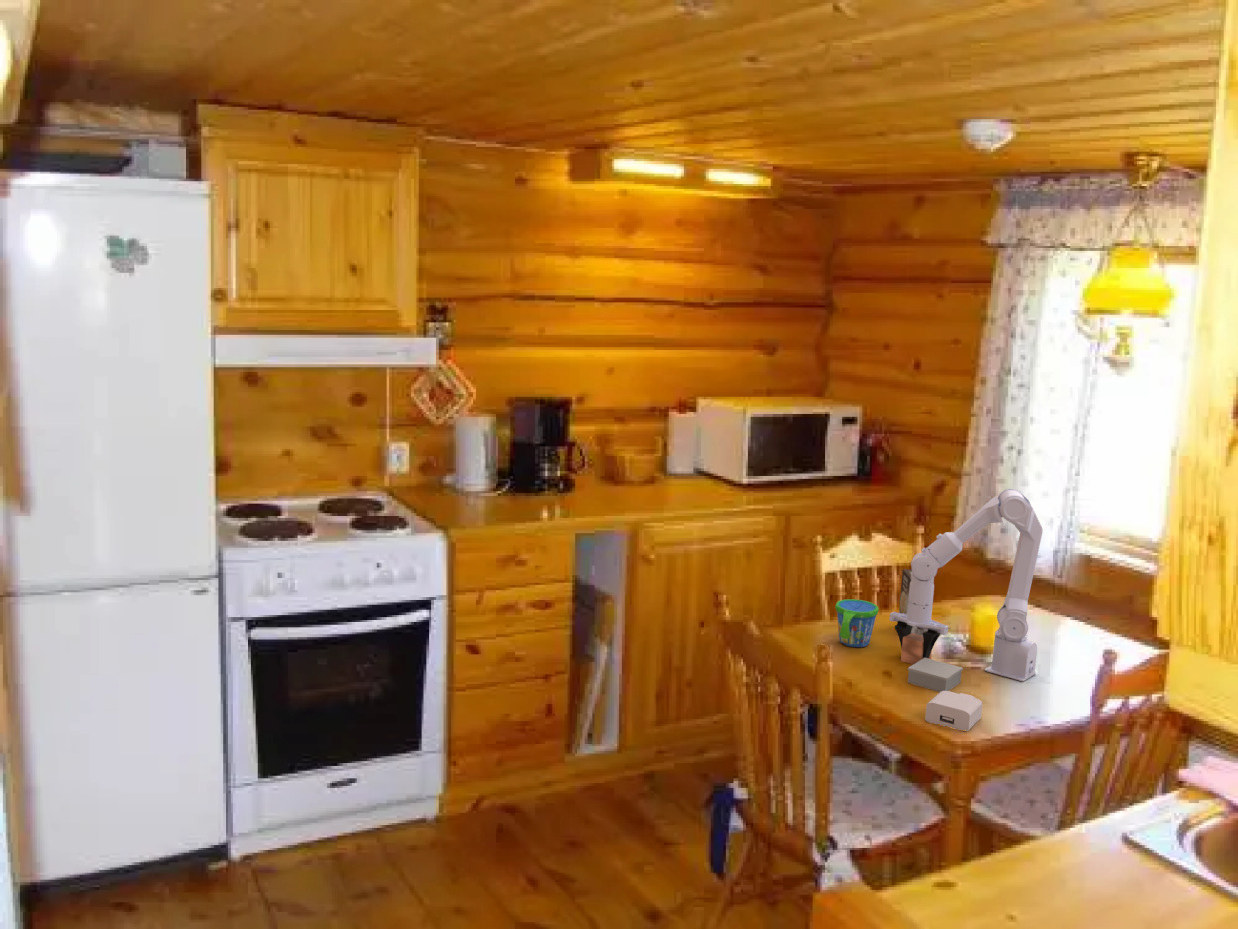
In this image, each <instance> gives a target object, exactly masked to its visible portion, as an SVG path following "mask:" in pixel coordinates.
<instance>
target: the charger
mask: <svg viewBox="0 0 1238 929" xmlns="http://www.w3.org/2000/svg"><path fill="white" fill-rule="evenodd" d="M925 705H926V708H925V716H924V719H925V721H926V722H927V723H930V724H933V723H934V724H935V725H937V724H940V725H939V726H941V725H943V726H942V727H945V726H948V727H952V728H955V729H954V730H956V729H958V730H957V731H959V730H966V731H967V732H969V731H970V730H971V728H972V727H974V725H976V723H978V721H979V720H980V719H981V718H982V712H983V701H982V700H980V699H979V698H978V697H977V698H976V697H975V696H974V695H970V694H966V693H963V692H961V693H957V692H953V691H951V690H949V691H941V692H939V693H938V694H936V695H935V696H934V697H933V698H932V699H931V700H929V701H928V702H927V703H926V704H925ZM934 724H933V725H934ZM948 727H947V728H948ZM952 728H951V729H952Z"/></svg>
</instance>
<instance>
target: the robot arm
mask: <svg viewBox="0 0 1238 929" xmlns="http://www.w3.org/2000/svg"><path fill="white" fill-rule="evenodd" d="M1002 518H1003V519H1004V520H1006V521H1007V522H1008V523H1010V524H1012V525H1013V526H1014V527H1015V528H1016V530H1018V532H1019V536H1018V543H1017V547H1016V551H1015V555H1014V560H1013V565H1012V569H1011V573H1010V574H1011V576H1010V581H1009V584H1008V588H1007V593H1006V596H1005V598H1004V602H1003V605H1001V608H999V610H998V612H997V615H996V619H997V622H998V624H999V628H998V629H997V630H996V631H995V632H994V640H993V641H994V642H993V651H992V658H991V659H992V660H991V664H990V665H989V666H988V667H986V668H985V669H984V671H985V672H988V673H992V674H995V675H999V676H1001V677H1005V678H1009V679H1013V680H1015V681H1020V682H1024V681H1026V680H1028V679H1029V678H1031V677H1032V676H1034V675H1036V674H1037V672H1036V665H1037V664H1036V663H1037V657H1038V656H1037V654H1038V645H1037V643H1036V642H1034V641H1031V640H1030V639H1028V635H1027V634H1028V632H1029V625H1028V621H1027V617H1028V616H1027V615H1028V603H1029V602H1028V600H1029V599H1030V598H1029V596H1030V591H1031V587H1032V585H1033V584H1032V582H1033V579H1034V574H1035V569H1036V564H1037V561H1038V554H1039V551H1040V550H1039V549H1040V546H1041V541H1042V537H1043V532H1044V531H1043V527H1042V524H1041V522H1040V520H1039V518H1038V516H1037V514H1036V512H1035V510H1034V506H1032V504H1031V502H1030V501H1029V499H1028V498H1027V497H1026V496H1025V495H1024V494H1023V493H1022V492H1021V491H1019V490H1018V489H1016V488H1007V489H1004V490H1003V491H1001V492H1000V493H999V494H998V496H997V495H995V496H994V497H992V498H991V499H990V500H989V501H987V502H986V503H985V504H984V505H983V506H981V507H980V508H979V509H978V510H977V511H976V512H975V513H974V514H973V515H971V517H969V518H968V519H967V520H966V521H965V522H963V524H961V525H960V526H959V527H958V528H957V529H956V530H955V531H952V532H951V531H949V532H947V531H946V532H944V533H943V534H942V533H939V534H938V535H936V536H935V537H936V539H935V540H934V541H933V542H932V543H931V544H929V545H928V546H927V547H922V548H921V549H920V550H921V552H917V553H916V554H915V555H914V556H913V558H912V560H911V561H910V566H911V569H912V575H911V582H910V588H909V599H908V611H907V614H903V613H899V612H896V611H892V612H891V613H889V622H896V625H894V630H895V631H896V633H897V636H898V638H899V639H898V640H899V642H900V647H901V650H902V643H903V637H905V636H907V635H909V634H911V631H912V627H913V626H915V627H919V628H922V629H926V630H927V631H926V632H924V633H923V640H924V649H923V658H929V657H931V653H932V651H933V648H934V646H935V644H936V642H937V641H938V639H939V637H940V636H947V634H948V633H949V625H946V624H943V623H941V622H939V621H936V620H934V619H932V615H933V614H932V613H933V604H934V594H935V592H934V591H935V584H934V583H935V582H934V580H935V577H936V576H937V573H938V569H939V568H943V567H944V566H945V565H946V564H947V563H948V562H950V561H952V559H953V558H955V557H956V556H957V555H958V554H960V553H962V551H963V545H964V543H965V542H966V541H968V539H970V538H971V537H973V536H974V535H975V534H977V533H978V532H979V531H981V530H982V529H984V528H986V526H987V525H989V524H994V523H995V524H997V523H998V524H999V523H1003V520H1002ZM929 659H930V658H929Z"/></svg>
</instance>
